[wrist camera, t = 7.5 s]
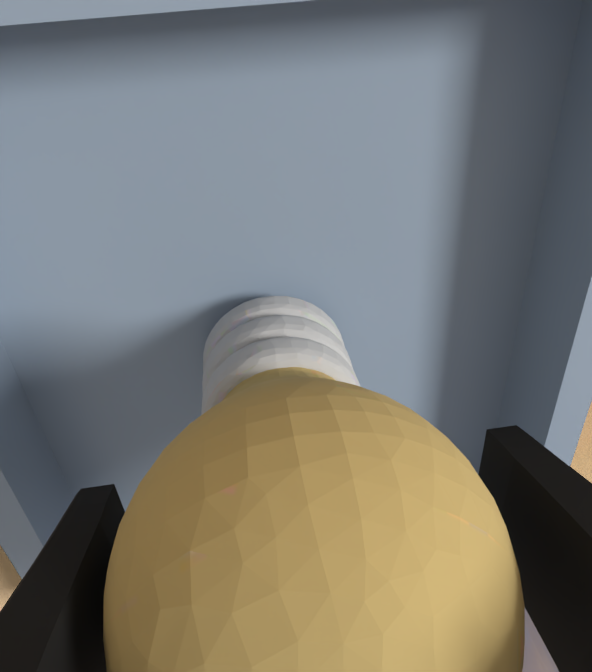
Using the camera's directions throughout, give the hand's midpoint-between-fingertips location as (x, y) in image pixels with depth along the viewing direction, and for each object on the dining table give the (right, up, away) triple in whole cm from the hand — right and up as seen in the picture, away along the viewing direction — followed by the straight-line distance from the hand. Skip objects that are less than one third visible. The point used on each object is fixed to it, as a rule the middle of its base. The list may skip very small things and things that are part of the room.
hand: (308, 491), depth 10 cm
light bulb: (-1, +3, +4) cm, 5 cm away
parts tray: (-1, +3, +5) cm, 6 cm away
